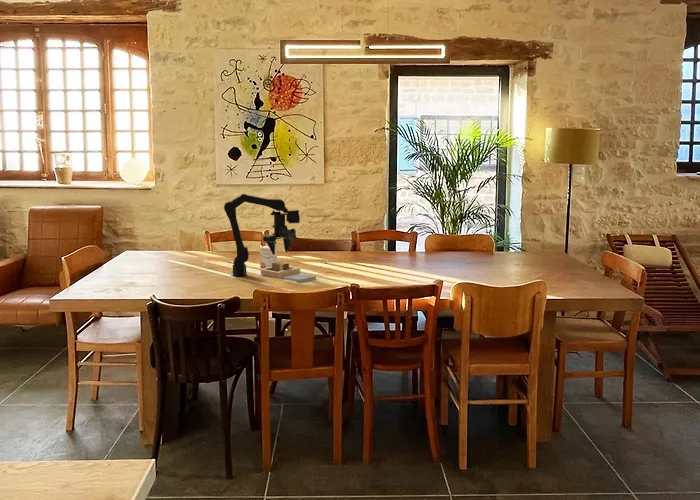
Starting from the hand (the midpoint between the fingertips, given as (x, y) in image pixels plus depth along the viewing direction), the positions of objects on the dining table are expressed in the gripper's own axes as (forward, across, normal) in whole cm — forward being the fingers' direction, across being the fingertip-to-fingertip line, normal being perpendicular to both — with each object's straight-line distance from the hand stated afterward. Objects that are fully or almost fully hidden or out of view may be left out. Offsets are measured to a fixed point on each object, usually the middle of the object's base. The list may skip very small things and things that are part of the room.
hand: (280, 253), depth 390 cm
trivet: (+12, -1, -15) cm, 19 cm away
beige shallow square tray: (+12, 0, 0) cm, 12 cm away
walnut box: (+11, 0, 0) cm, 11 cm away
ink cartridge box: (+12, +10, +20) cm, 25 cm away
